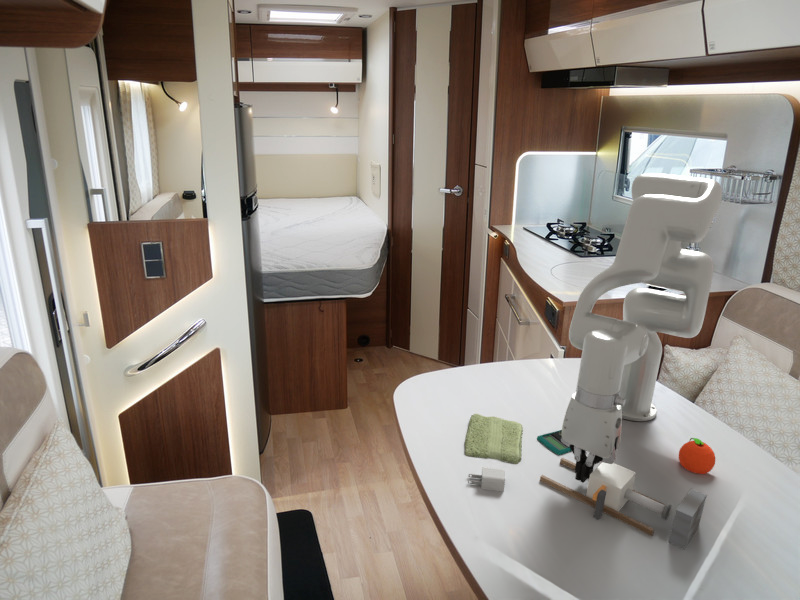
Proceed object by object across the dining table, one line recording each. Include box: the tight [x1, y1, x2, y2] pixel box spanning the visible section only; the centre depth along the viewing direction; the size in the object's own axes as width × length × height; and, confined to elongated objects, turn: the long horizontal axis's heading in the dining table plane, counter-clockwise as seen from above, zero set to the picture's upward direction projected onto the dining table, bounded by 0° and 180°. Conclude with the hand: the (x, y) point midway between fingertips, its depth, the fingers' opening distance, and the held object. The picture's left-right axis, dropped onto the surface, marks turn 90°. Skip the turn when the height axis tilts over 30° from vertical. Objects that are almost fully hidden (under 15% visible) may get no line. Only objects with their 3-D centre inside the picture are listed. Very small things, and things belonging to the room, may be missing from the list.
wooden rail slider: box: [539, 457, 708, 550], centre depth 111 cm, size 14×30×8 cm, turn 48°
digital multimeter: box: [536, 429, 572, 456], centre depth 132 cm, size 7×15×3 cm, turn 117°
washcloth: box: [464, 413, 524, 465], centre depth 131 cm, size 13×18×3 cm
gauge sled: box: [585, 462, 673, 521], centre depth 108 cm, size 11×14×6 cm
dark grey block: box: [593, 490, 606, 520], centre depth 107 cm, size 2×1×5 cm, turn 138°
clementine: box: [678, 437, 716, 475], centre depth 124 cm, size 8×7×7 cm
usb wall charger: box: [467, 467, 506, 493], centre depth 116 cm, size 4×7×4 cm, turn 81°
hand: (582, 478), depth 116 cm, fingers closed
